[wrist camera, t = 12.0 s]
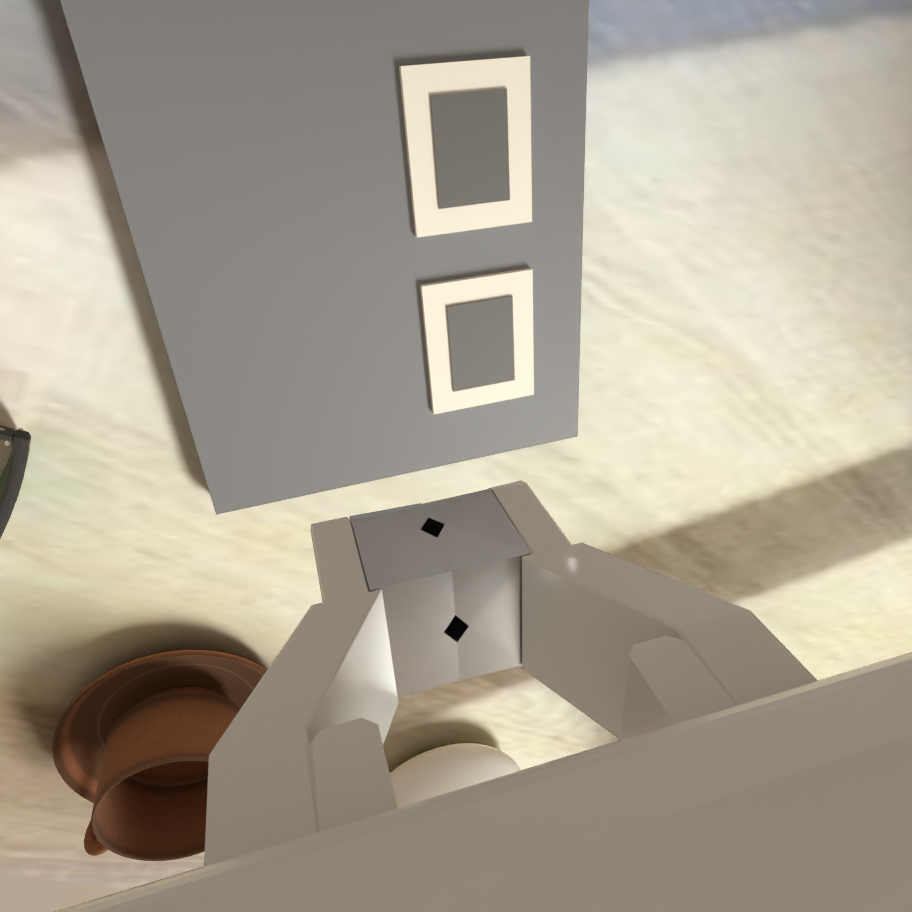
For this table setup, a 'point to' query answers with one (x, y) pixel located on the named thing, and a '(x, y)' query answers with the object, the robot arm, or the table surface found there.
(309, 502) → the table surface
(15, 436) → the sunglasses
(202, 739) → the cup and saucer
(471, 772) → the flower in vase
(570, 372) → the label panel
